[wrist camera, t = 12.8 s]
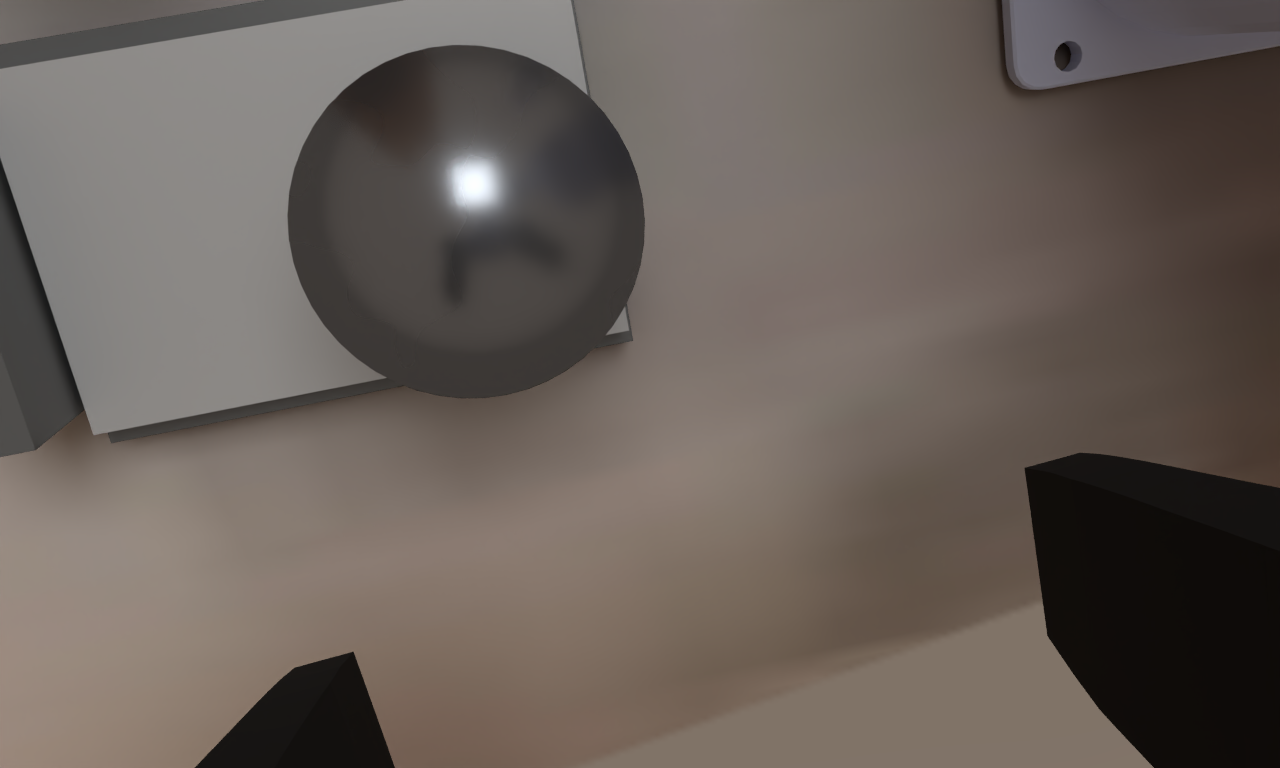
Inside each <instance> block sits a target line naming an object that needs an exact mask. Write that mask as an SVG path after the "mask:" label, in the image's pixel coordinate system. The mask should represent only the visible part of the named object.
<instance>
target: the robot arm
mask: <svg viewBox="0 0 1280 768" xmlns="http://www.w3.org/2000/svg"><path fill="white" fill-rule="evenodd" d="M1002 10H1003V25H1004V40H1005V55H1006V67H1007V71H1008V75H1009V77H1010V79H1011V80H1012V81H1013V83H1014V84H1015V85H1017V86H1019V87H1021V88H1023V89H1033V90H1043V89H1049V88H1054V87H1060V86H1065V85H1071V84H1076V83H1081V82H1087V81H1092V80H1098V79H1103V78H1109V77H1114V76H1119V75H1125V74H1130V73H1136V72H1141V71H1147V70H1152V69H1158V68H1163V67H1168V66H1174V65H1179V64H1185V63H1190V62H1196V61H1201V60H1206V59H1212V58H1217V57H1223V56H1228V55H1234V54H1239V53H1245V52H1250V51H1255V50H1261V49H1266V48H1272V47H1277V46H1280V0H1002ZM1062 43H1065V44H1066V45H1068V46H1069V48H1070V52H1071V58H1070V62H1069V64H1068V65H1067V66H1066V68H1065V69H1063V70H1060V69H1059V68H1058V67H1056V64H1055V61H1054V56H1055V51H1056V49H1057V48H1058V47H1059V45H1060V44H1062ZM1025 474H1026V481H1027V488H1028V496H1029V503H1030V510H1031V518H1032V525H1033V533H1034V540H1035V547H1036V555H1037V562H1038V569H1039V577H1040V584H1041V591H1042V599H1043V606H1044V613H1045V621H1046V628H1047V636H1048V637H1049V639H1050V640H1051V642H1052V643H1053V645H1054V646H1055V647H1056V649H1057V650H1058V652H1059V653H1060V655H1061V656H1062V658H1063V659H1064V661H1065V662H1066V664H1067V665H1068V667H1069V668H1070V670H1071V671H1072V672H1073V674H1074V675H1075V677H1076V678H1077V679H1078V681H1079V682H1080V684H1081V685H1082V686H1083V688H1084V689H1085V690H1086V692H1087V693H1088V694H1089V695H1090V697H1091V698H1092V700H1093V701H1094V702H1095V704H1096V705H1097V707H1098V708H1099V709H1100V710H1101V711H1102V713H1103V714H1104V715H1105V716H1106V717H1107V718H1108V719H1109V720H1110V721H1111V722H1112V724H1113V725H1114V726H1115V727H1116V728H1117V729H1118V730H1119V731H1120V732H1121V733H1122V734H1123V735H1124V736H1125V737H1126V739H1127V740H1128V741H1129V742H1130V743H1131V744H1132V745H1133V746H1134V747H1135V748H1136V749H1137V750H1138V751H1139V752H1140V753H1141V754H1142V755H1143V757H1144V758H1145V759H1146V760H1147V761H1148V762H1149V763H1150V764H1151V765H1152V766H1153V767H1154V768H1280V488H1277V487H1272V486H1267V485H1261V484H1256V483H1251V482H1246V481H1241V480H1236V479H1231V478H1226V477H1221V476H1216V475H1211V474H1206V473H1201V472H1196V471H1191V470H1186V469H1181V468H1176V467H1171V466H1166V465H1161V464H1156V463H1151V462H1146V461H1140V460H1135V459H1129V458H1123V457H1117V456H1110V455H1102V454H1090V453H1078V454H1074V455H1070V456H1067V457H1063V458H1059V459H1056V460H1052V461H1048V462H1045V463H1041V464H1037V465H1034V466H1030V467H1026V468H1025ZM195 768H395V767H394V764H393V761H392V758H391V755H390V753H389V750H388V747H387V744H386V741H385V739H384V736H383V733H382V730H381V727H380V725H379V722H378V719H377V716H376V713H375V711H374V708H373V705H372V702H371V699H370V697H369V694H368V691H367V688H366V685H365V683H364V680H363V677H362V674H361V671H360V669H359V666H358V663H357V660H356V657H355V655H354V652H351V653H347V654H343V655H340V656H336V657H332V658H329V659H325V660H321V661H318V662H314V663H311V664H307V665H303V666H300V667H296V668H294V669H293V670H291V671H290V672H289V673H288V674H287V675H285V676H284V677H283V678H282V679H281V680H280V681H279V682H277V683H276V684H275V685H274V686H273V687H272V688H271V689H270V690H269V691H268V692H267V693H266V694H265V695H264V696H263V697H262V698H261V699H260V700H259V701H258V702H257V703H256V704H255V705H254V706H253V708H252V709H251V710H250V711H249V712H248V713H247V714H246V715H245V716H244V717H243V718H242V719H241V720H240V721H239V722H238V723H237V724H236V725H235V726H234V727H233V728H232V730H231V731H230V732H229V733H228V734H227V735H226V736H225V737H224V738H223V739H222V740H221V741H220V742H219V743H218V744H217V745H216V746H215V747H214V748H213V749H212V750H211V751H210V752H209V753H208V755H207V756H206V757H205V758H204V759H203V760H202V761H201V762H200V763H199V764H198V765H197V766H196V767H195Z"/></svg>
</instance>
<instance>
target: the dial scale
mask: <svg viewBox="0 0 1280 768" xmlns="http://www.w3.org/2000/svg"><path fill="white" fill-rule="evenodd" d="M449 45H476V46H485V47H491V48H497V49H503V50H506V51H509V52H513V53H516V54H519V55H522V56H526V57H528V58H530V59H533V60H535V61H537V62H539V63H541V64H543V65H546V66H548V67H550V68H551V69H553V70H554V71H556V72H558V73H559V74H561V75H562V76H564V77H565V78H567V79H569V80H570V81H571V82H572V83H574V84H575V85H576V86H577V87H578V88H580V89H581V90H582V91H583V92H584V93H586V94H587V95H588V96H589V97H590V92H589V87H588V81H587V75H586V70H585V64H584V58H583V53H582V47H581V41H580V36H579V30H578V24H577V18H576V13H575V7H574V1H573V0H264V1H258V2H252V3H246V4H240V5H234V6H228V7H222V8H216V9H211V10H205V11H199V12H193V13H187V14H181V15H175V16H169V17H163V18H157V19H151V20H145V21H139V22H133V23H127V24H121V25H115V26H109V27H103V28H97V29H92V30H86V31H80V32H74V33H68V34H62V35H56V36H50V37H44V38H38V39H32V40H26V41H20V42H14V43H8V44H2V45H0V457H3V456H8V455H13V454H18V453H23V452H29V451H34V450H36V449H37V448H39V447H40V446H41V445H42V444H43V443H45V442H46V441H47V440H48V439H50V438H51V437H52V436H53V435H54V434H56V433H57V432H58V431H59V430H60V429H62V428H63V427H64V426H65V425H67V424H68V423H69V422H70V421H71V420H73V419H74V418H75V417H76V416H77V415H79V414H80V413H81V412H82V411H84V410H85V411H86V414H87V417H88V420H89V423H90V426H91V429H92V432H93V435H97V434H102V433H107V432H108V435H109V438H110V441H111V443H114V442H119V441H125V440H130V439H135V438H140V437H145V436H150V435H155V434H160V433H165V432H170V431H175V430H181V429H186V428H191V427H196V426H201V425H206V424H211V423H216V422H221V421H226V420H232V419H237V418H242V417H247V416H252V415H257V414H262V413H267V412H272V411H277V410H282V409H288V408H293V407H298V406H303V405H308V404H313V403H318V402H323V401H328V400H333V399H339V398H344V397H349V396H354V395H359V394H364V393H369V392H374V391H379V390H384V389H389V388H395V387H400V386H404V385H401V384H399V383H396V382H394V381H392V380H390V379H388V378H387V377H385V376H383V375H381V374H379V373H377V372H375V371H374V370H372V369H371V368H369V367H368V366H367V365H365V364H364V363H362V362H361V361H359V360H358V359H357V358H355V357H354V356H353V355H352V354H351V353H350V352H349V351H348V350H347V349H345V348H344V347H343V346H342V345H341V344H340V343H339V342H338V341H337V340H336V339H335V337H334V336H333V335H332V334H331V333H330V332H329V330H328V329H327V328H326V327H325V326H324V324H323V323H322V321H321V320H320V318H319V317H318V315H317V314H316V312H315V311H314V309H313V308H312V306H311V304H310V302H309V300H308V298H307V296H306V294H305V292H304V290H303V288H302V286H301V284H300V281H299V278H298V275H297V272H296V269H295V266H294V263H293V258H292V253H291V248H290V243H289V235H288V218H287V214H288V200H289V190H290V186H291V181H292V176H293V172H294V168H295V165H296V162H297V160H298V157H299V154H300V151H301V149H302V146H303V144H304V142H305V141H306V139H307V137H308V135H309V133H310V131H311V129H312V127H313V126H314V124H315V123H316V121H317V120H318V119H319V117H320V116H321V115H322V113H323V112H324V111H325V109H326V108H327V106H328V105H329V104H330V103H331V102H332V101H333V100H334V99H335V98H336V97H337V96H338V95H339V94H340V93H341V92H342V91H343V90H344V89H345V88H346V87H348V86H349V85H350V84H351V83H353V82H354V81H355V80H357V79H358V78H359V77H360V76H362V75H363V74H365V73H366V72H368V71H370V70H372V69H373V68H375V67H377V66H379V65H380V64H382V63H384V62H386V61H389V60H391V59H394V58H396V57H399V56H401V55H404V54H406V53H410V52H414V51H418V50H422V49H426V48H430V47H439V46H449ZM629 341H633V337H632V332H631V326H630V320H629V315H628V309H627V303H626V305H625V307H624V309H623V311H622V312H621V314H620V315H619V317H618V319H617V320H616V322H615V324H614V325H613V326H612V328H611V329H610V330H609V331H608V333H607V334H606V335H605V336H604V338H603V339H602V340H601V341H600V343H599V344H597V345H596V346H595V347H594V348H598V347H604V346H609V345H614V344H619V343H624V342H629Z"/></svg>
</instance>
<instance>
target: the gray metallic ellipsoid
mask: <svg viewBox="0 0 1280 768" xmlns="http://www.w3.org/2000/svg"><path fill="white" fill-rule="evenodd" d="M287 218H288V235H289V243H290V248H291V253H292V258H293V263H294V266H295V269H296V272H297V275H298V278H299V281H300V284H301V286H302V288H303V290H304V292H305V294H306V296H307V298H308V300H309V302H310V304H311V306H312V308H313V309H314V311H315V312H316V314H317V315H318V317H319V318H320V320H321V321H322V323H323V324H324V326H325V327H326V328H327V329H328V330H329V332H330V333H331V334H332V335H333V336H334V337H335V339H336V340H337V341H338V342H339V343H340V344H341V345H342V346H343V347H344V348H345V349H347V350H348V351H349V352H350V353H351V354H352V355H353V356H354V357H355V358H357V359H358V360H359V361H361V362H362V363H364V364H365V365H367V366H368V367H369V368H371V369H372V370H374V371H375V372H377V373H379V374H381V375H383V376H385V377H387V378H388V379H390V380H392V381H394V382H396V383H399V384H401V385H404V386H407V387H409V388H412V389H415V390H418V391H422V392H426V393H430V394H434V395H438V396H446V397H455V398H487V397H495V396H502V395H508V394H511V393H515V392H519V391H523V390H526V389H529V388H532V387H534V386H537V385H539V384H541V383H544V382H546V381H548V380H550V379H552V378H554V377H556V376H557V375H559V374H561V373H563V372H565V371H566V370H568V369H569V368H570V367H572V366H573V365H574V364H576V363H577V362H579V361H580V360H581V359H583V358H584V357H585V356H586V355H587V354H588V353H589V352H590V351H591V350H592V349H593V348H594V347H595V346H596V345H597V344H599V343H600V341H601V340H602V339H603V338H604V336H605V335H606V334H607V333H608V331H609V330H610V329H611V328H612V326H613V325H614V324H615V322H616V320H617V319H618V317H619V315H620V314H621V312H622V311H623V309H624V307H625V305H626V303H627V301H628V299H629V296H630V294H631V292H632V290H633V287H634V285H635V281H636V278H637V275H638V271H639V268H640V265H641V258H642V252H643V246H644V226H645V218H644V208H643V198H642V193H641V189H640V185H639V181H638V176H637V173H636V170H635V168H634V165H633V162H632V160H631V157H630V154H629V152H628V150H627V148H626V146H625V145H624V143H623V141H622V139H621V137H620V135H619V133H618V132H617V130H616V129H615V127H614V126H613V125H612V123H611V122H610V120H609V119H608V118H607V116H606V115H605V113H604V112H603V111H602V110H601V109H600V108H599V107H598V106H597V105H596V104H595V102H594V101H593V100H592V99H591V98H590V97H589V96H588V95H587V94H586V93H584V92H583V91H582V90H581V89H580V88H578V87H577V86H576V85H575V84H574V83H572V82H571V81H570V80H569V79H567V78H565V77H564V76H562V75H561V74H559V73H558V72H556V71H554V70H553V69H551V68H550V67H548V66H546V65H543V64H541V63H539V62H537V61H535V60H533V59H530V58H528V57H526V56H522V55H519V54H516V53H513V52H509V51H506V50H503V49H497V48H491V47H485V46H476V45H449V46H439V47H430V48H426V49H422V50H418V51H414V52H410V53H406V54H404V55H401V56H399V57H396V58H394V59H391V60H389V61H386V62H384V63H382V64H380V65H379V66H377V67H375V68H373V69H372V70H370V71H368V72H366V73H365V74H363V75H362V76H360V77H359V78H358V79H357V80H355V81H354V82H353V83H351V84H350V85H349V86H348V87H346V88H345V89H344V90H343V91H342V92H341V93H340V94H339V95H338V96H337V97H336V98H335V99H334V100H333V101H332V102H331V103H330V104H329V105H328V106H327V108H326V109H325V111H324V112H323V113H322V115H321V116H320V117H319V119H318V120H317V121H316V123H315V124H314V126H313V127H312V129H311V131H310V133H309V135H308V137H307V139H306V141H305V142H304V144H303V146H302V149H301V151H300V154H299V157H298V160H297V162H296V165H295V168H294V172H293V176H292V181H291V186H290V190H289V200H288V214H287Z"/></svg>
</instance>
